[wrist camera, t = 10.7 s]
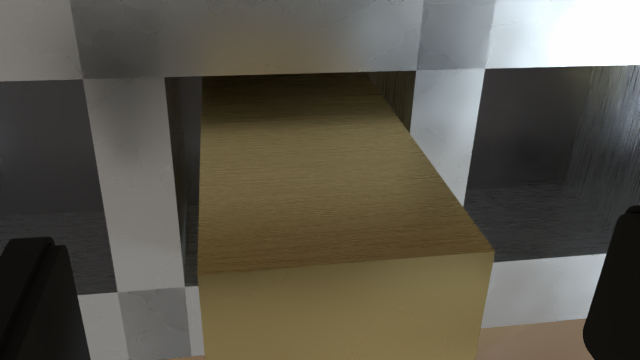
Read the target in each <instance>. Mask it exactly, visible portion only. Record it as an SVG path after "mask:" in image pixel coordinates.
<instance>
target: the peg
mask: <svg viewBox="0 0 640 360" xmlns="http://www.w3.org/2000/svg"><path fill="white" fill-rule="evenodd" d="M494 255H495V250H494V249H493V248H492V246H491V245H490V243H489V242H488V241H487V239H486V238H485V237H484V235H483V234H482V232H481V231H480V230H479V228H478V227H477V226H476V224H475V223H474V221H473V220H472V219H471V217H470V216H469V215H468V213H467V212H466V210H465V209H464V208H463V206H462V205H461V204H460V202H459V201H458V199H457V198H456V197H455V195H454V194H453V193H452V191H451V190H450V188H449V187H448V186H447V184H446V183H445V182H444V180H443V179H442V177H441V176H440V175H439V173H438V172H437V171H436V169H435V168H434V166H433V165H432V164H431V162H430V161H429V159H428V158H427V157H426V155H425V154H424V153H423V151H422V150H421V148H420V147H419V146H418V144H417V143H416V142H415V140H414V139H413V137H412V136H411V135H410V133H409V132H408V131H407V129H406V128H405V126H404V125H403V124H402V122H401V121H400V120H399V118H398V117H397V115H396V114H395V113H394V111H393V110H392V109H391V107H390V106H389V104H388V103H387V102H386V100H385V99H384V98H383V96H382V95H381V93H380V92H379V91H378V89H377V88H376V87H375V85H374V84H373V82H372V81H371V80H370V78H369V77H368V76H367V74H366V73H365V72H339V73H301V74H263V75H225V76H202V99H201V142H200V184H199V227H198V269H197V277H198V288H199V299H200V310H201V320H202V331H203V342H204V353H205V360H475V356H476V350H477V345H478V340H479V335H480V329H481V324H482V319H483V313H484V308H485V303H486V298H487V292H488V287H489V282H490V276H491V271H492V266H493V260H494Z"/></svg>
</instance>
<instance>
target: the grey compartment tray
mask: <svg viewBox="0 0 640 360" xmlns="http://www.w3.org/2000/svg"><path fill="white" fill-rule="evenodd" d="M339 72H365V73H366V74H367V76H368V77H369V78H370V80H371V81H372V82H373V84H374V85H375V87H376V88H377V89H378V91H379V92H380V93H381V95H382V96H383V98H384V99H385V100H386V102H387V103H388V104H389V106H390V107H391V109H392V110H393V111H394V113H395V114H396V115H397V117H398V118H399V120H400V121H401V122H402V124H403V125H404V126H405V128H406V129H407V131H408V132H409V133H410V135H411V136H412V137H413V139H414V140H415V142H416V143H417V144H418V146H419V147H420V148H421V150H422V151H423V153H424V154H425V155H426V157H427V158H428V159H429V161H430V162H431V164H432V165H433V166H434V168H435V169H436V171H437V172H438V173H439V175H440V176H441V177H442V179H443V180H444V182H445V183H446V184H447V186H448V187H449V188H450V190H451V191H452V193H453V194H454V195H455V197H456V198H457V199H458V201H459V202H460V204H461V205H462V206H463V208H464V209H465V210H466V212H467V213H468V215H469V216H470V217H471V219H472V220H473V221H474V223H475V224H476V226H477V227H478V228H479V230H480V231H481V232H482V234H483V235H484V237H485V238H486V239H487V241H488V242H489V243H490V245H491V246H492V248H493V249H494V250H495V255H494V260H493V266H492V271H491V276H490V282H489V287H488V292H487V298H486V303H485V308H484V313H483V319H482V324H481V328H489V327H500V326H510V325H520V324H531V323H541V322H551V321H562V320H572V319H583V318H587V315H588V312H589V309H590V305H591V302H592V299H593V296H594V293H595V289H596V286H597V283H598V280H599V276H600V273H601V270H602V267H603V264H604V260H605V257H606V254H607V251H608V247H609V244H610V241H611V238H612V234H613V231H614V228H615V225H616V222H617V220H618V218H619V217H620V216H621V215H623V214H625V212H626V210H627V209H628V208H629V207H631V206H634V205H640V0H0V256H1V254H2V252H3V250H4V248H5V247H6V245H7V243H8V242H9V240H10V239H13V238H29V237H48V236H50V237H51V238H53V240H54V242H55V245H65V246H66V247H67V249H68V253H69V257H70V262H71V267H72V272H73V277H74V281H75V286H76V291H77V296H78V300H79V305H80V310H81V315H82V320H83V324H84V329H85V334H86V339H87V344H88V348H89V353H90V358H91V360H158V359H168V358H179V357H189V356H199V355H205V353H204V342H203V331H202V320H201V310H200V299H199V288H198V277H197V269H198V227H199V184H200V142H201V99H202V76H225V75H263V74H301V73H339Z"/></svg>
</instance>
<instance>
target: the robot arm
mask: <svg viewBox="0 0 640 360" xmlns="http://www.w3.org/2000/svg"><path fill="white" fill-rule="evenodd" d="M583 339H584V343H585V346H586V348H587V350H588V351H589V353H590V354H591V355H592V357H593V358H594V359H595V360H640V205H634V206H631V207H629V208H628V209H627V210H626V212H625V214H623V215H621V216H620V217H619V218H618V220H617V222H616V225H615V228H614V231H613V234H612V238H611V241H610V244H609V247H608V251H607V254H606V257H605V260H604V264H603V267H602V270H601V273H600V276H599V280H598V283H597V286H596V289H595V293H594V296H593V299H592V302H591V305H590V309H589V312H588V315H587V318H586V322H585V325H584V329H583ZM0 360H91V358H90V353H89V348H88V344H87V339H86V334H85V329H84V324H83V320H82V315H81V310H80V305H79V300H78V296H77V291H76V286H75V281H74V277H73V272H72V267H71V262H70V257H69V253H68V249H67V247H66V246H65V245H55V242H54V240H53V238H51V237H50V236H48V237H29V238H13V239H10V240H9V242H8V243H7V245H6V247H5V248H4V250H3V252H2V254H1V256H0Z"/></svg>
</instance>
